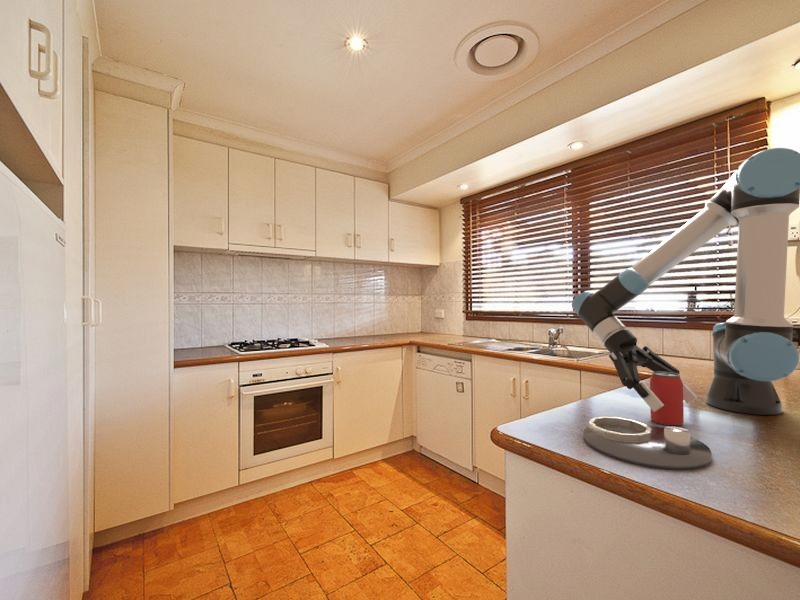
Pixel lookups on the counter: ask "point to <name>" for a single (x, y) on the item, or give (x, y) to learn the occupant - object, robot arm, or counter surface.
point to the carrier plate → (647, 444)
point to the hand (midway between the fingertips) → (676, 404)
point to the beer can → (668, 398)
